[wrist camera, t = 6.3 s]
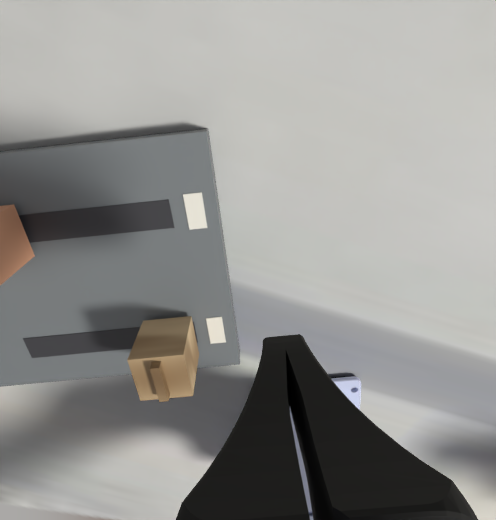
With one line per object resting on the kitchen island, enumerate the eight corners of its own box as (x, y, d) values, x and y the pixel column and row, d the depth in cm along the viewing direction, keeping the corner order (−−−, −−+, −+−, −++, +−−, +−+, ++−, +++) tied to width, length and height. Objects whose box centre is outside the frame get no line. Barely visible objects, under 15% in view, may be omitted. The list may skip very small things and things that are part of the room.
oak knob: (199, 353, 23) (191, 402, 20) (153, 358, 24) (138, 407, 20) (191, 315, 22) (182, 361, 19) (143, 320, 22) (124, 366, 19)
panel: (240, 352, 25) (239, 370, 24) (-23, 376, 26) (-41, 396, 24) (208, 128, 19) (205, 132, 17) (-144, 167, 19) (-180, 174, 18)
